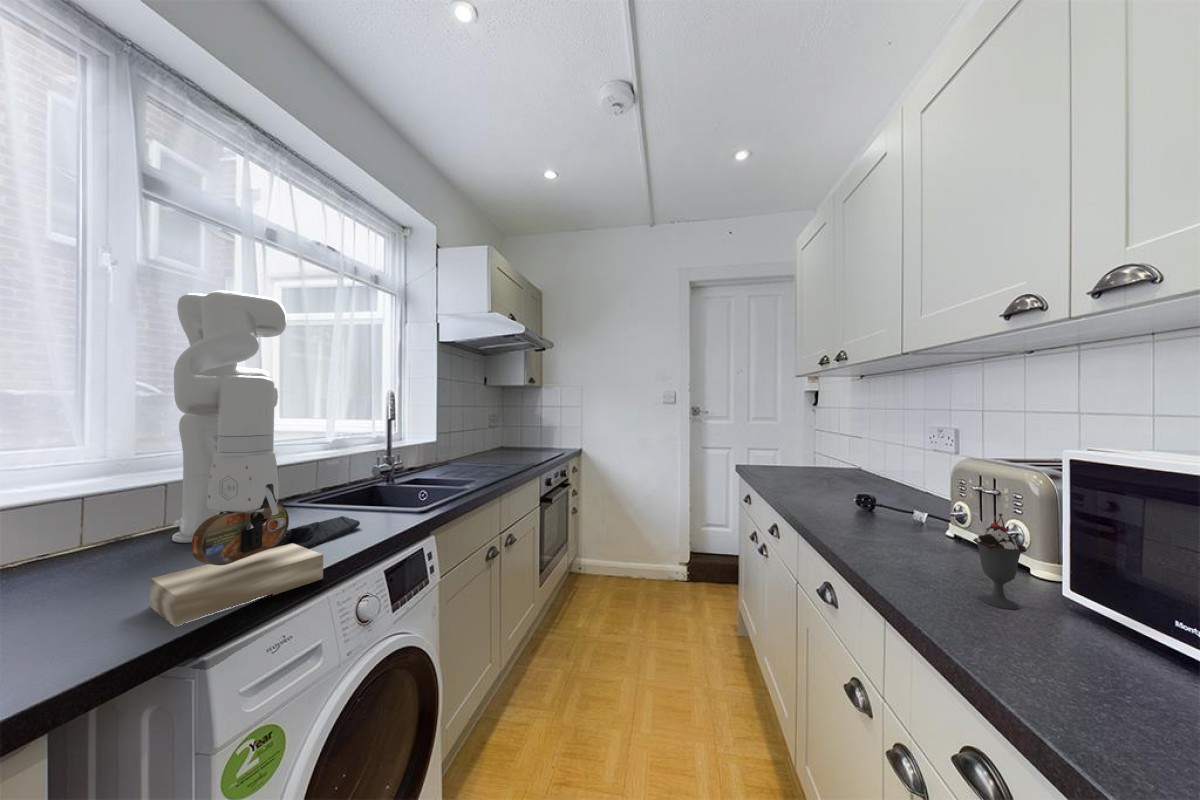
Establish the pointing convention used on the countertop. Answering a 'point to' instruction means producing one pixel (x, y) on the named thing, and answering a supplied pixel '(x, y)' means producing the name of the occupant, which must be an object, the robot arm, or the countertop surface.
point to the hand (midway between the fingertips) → (244, 548)
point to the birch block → (233, 582)
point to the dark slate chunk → (318, 532)
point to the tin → (234, 537)
